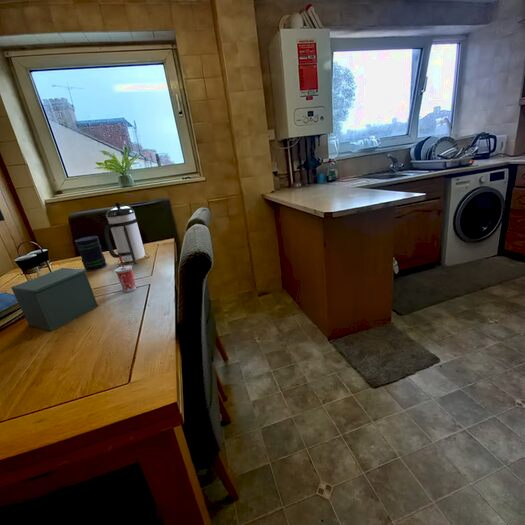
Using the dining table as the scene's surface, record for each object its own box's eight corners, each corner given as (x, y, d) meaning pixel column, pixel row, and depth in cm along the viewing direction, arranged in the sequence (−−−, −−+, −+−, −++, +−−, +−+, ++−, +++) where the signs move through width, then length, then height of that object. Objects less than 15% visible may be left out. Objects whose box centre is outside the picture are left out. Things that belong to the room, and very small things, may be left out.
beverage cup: (118, 292, 107) (106, 258, 102) (131, 285, 112) (121, 252, 107) (128, 294, 104) (117, 259, 99) (141, 286, 109) (131, 253, 104)
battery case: (97, 306, 97) (85, 272, 93) (51, 331, 84) (34, 293, 80) (75, 301, 103) (63, 270, 98) (28, 325, 90) (11, 289, 85)
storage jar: (87, 272, 133) (76, 242, 128) (83, 268, 140) (73, 239, 135) (109, 266, 139) (99, 237, 134) (104, 262, 146) (95, 234, 141)
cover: (86, 271, 92) (86, 269, 92) (35, 293, 79) (34, 290, 79) (63, 269, 98) (62, 267, 98) (11, 289, 85) (10, 287, 85)
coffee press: (117, 260, 147) (99, 203, 136) (149, 253, 152) (134, 198, 141) (114, 270, 131) (94, 207, 121) (150, 262, 137) (133, 201, 126)
